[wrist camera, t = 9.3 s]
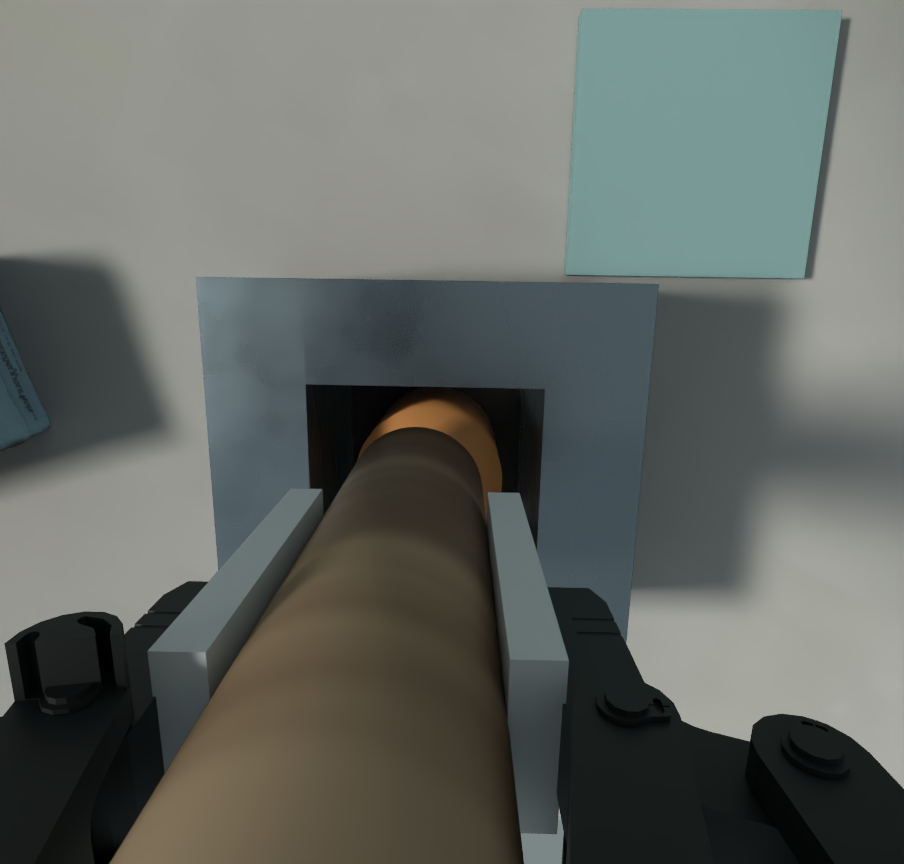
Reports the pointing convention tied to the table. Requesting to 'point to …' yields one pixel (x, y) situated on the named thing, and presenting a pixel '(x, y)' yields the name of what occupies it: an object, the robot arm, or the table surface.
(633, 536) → the box
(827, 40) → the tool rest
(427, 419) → the button
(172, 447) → the table surface
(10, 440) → the beverage carton
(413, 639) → the brown rounded rod
